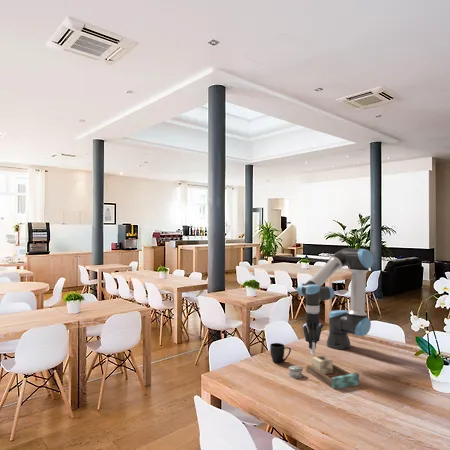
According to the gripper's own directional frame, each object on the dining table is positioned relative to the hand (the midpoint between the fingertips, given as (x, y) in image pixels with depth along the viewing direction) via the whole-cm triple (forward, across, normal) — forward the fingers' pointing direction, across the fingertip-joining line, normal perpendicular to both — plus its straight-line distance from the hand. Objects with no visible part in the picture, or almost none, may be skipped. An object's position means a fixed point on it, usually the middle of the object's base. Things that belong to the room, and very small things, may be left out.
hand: (312, 354), depth 206 cm
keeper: (+7, 0, +9) cm, 11 cm away
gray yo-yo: (+7, +16, +8) cm, 19 cm away
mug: (+7, +14, -12) cm, 19 cm away
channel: (+7, 0, +16) cm, 17 cm away
